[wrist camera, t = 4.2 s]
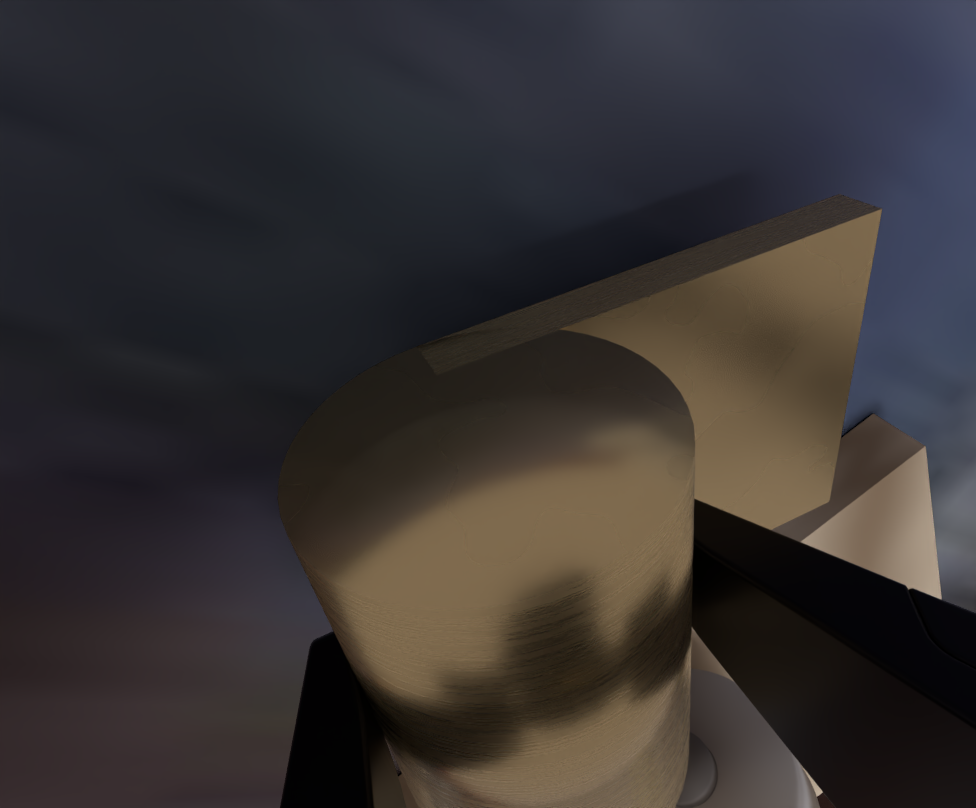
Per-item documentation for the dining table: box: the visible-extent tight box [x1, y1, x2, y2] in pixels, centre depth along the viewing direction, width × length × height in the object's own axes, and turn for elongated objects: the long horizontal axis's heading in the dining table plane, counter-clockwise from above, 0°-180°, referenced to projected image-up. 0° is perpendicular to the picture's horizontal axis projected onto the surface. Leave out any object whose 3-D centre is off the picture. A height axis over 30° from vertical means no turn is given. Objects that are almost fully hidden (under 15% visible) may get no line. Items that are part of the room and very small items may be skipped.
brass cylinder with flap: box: [278, 194, 882, 808], centre depth 10 cm, size 6×9×4 cm, turn 100°
